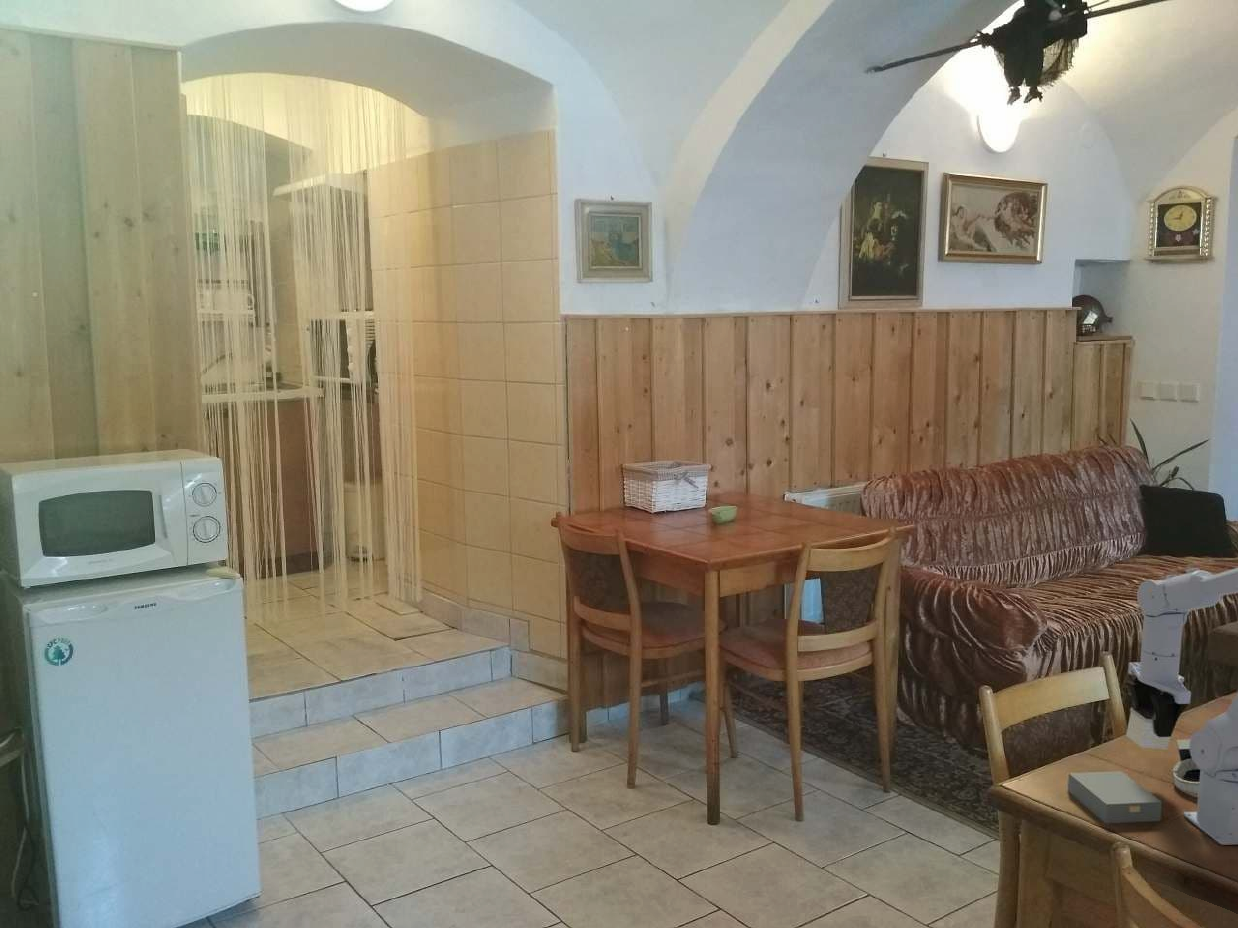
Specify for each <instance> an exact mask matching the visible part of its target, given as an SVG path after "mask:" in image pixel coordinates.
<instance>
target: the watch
mask: <svg viewBox="0 0 1238 928" xmlns="http://www.w3.org/2000/svg"><path fill="white" fill-rule="evenodd" d="M1190 739H1191V738H1187V739H1176V743H1177V747H1178V750H1177V751H1178V754H1179V759H1180V761H1178V762H1177V763H1176V764H1175V765H1174V767H1173V769H1172V772H1171V773H1172V775H1171V776H1172V779H1173V783H1174V785H1175V787H1176V788H1177V789H1178V790H1180V791H1181V792H1183V793H1186V794H1187V795H1193V796H1198V793H1199V781H1188V780H1184V779H1182V778H1183V777H1187V778H1193V779H1200V769H1198V768H1197V766H1196V764H1195V763H1194V761H1193V759H1192V757H1191V754H1190V748H1189V746H1190Z"/></svg>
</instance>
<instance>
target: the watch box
mask: <svg viewBox="0 0 1238 928" xmlns="http://www.w3.org/2000/svg"><path fill="white" fill-rule="evenodd" d="M1067 779H1068V782H1067V792H1068V793H1069V794H1070V795H1071V796H1073V797H1074V798H1075V799H1076V800H1077V801H1079V802H1080V804H1082V805H1083V806H1084V807H1085V808H1087V810H1089V811H1090V812H1091V813H1092V814H1094V815H1095V816H1096V817H1097V818H1098V819H1099V820H1101V821H1102V822H1103V823H1104V824H1118V823H1119V824H1122V823H1124V824H1125V823H1142V822H1145V823H1146V822H1160V821H1161V816H1162V806H1163V805H1162V804H1163V801H1161V800H1160V799H1159V798H1157V797H1156V796H1155V795H1153V794H1152V793H1151V792H1150V791H1148V790H1147V789H1145V788H1144V787H1143V786H1141V784H1138V783H1137V782H1136V781H1135V780H1133V779H1132V778H1131V777H1129V776H1128V775H1126V774H1125V773H1124V772H1123V771H1121V770H1119V771H1118V770H1117V771H1116V770H1115V771H1093V772H1092V771H1091V772H1090V771H1089V772H1072V773H1071V772H1070V773H1068V778H1067Z"/></svg>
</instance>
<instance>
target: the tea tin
mask: <svg viewBox="0 0 1238 928" xmlns="http://www.w3.org/2000/svg"><path fill="white" fill-rule="evenodd" d="M1129 709H1130V710H1129V711H1130V713H1129V720H1128V725H1127V729H1126V733H1125V734H1126V737H1127V738H1128V739H1130V740H1131V741H1132V742H1134V743H1135V744H1136V745H1137V746H1138V747H1140V748H1141V749H1142V748H1143V749H1153V750H1154V749H1156V750H1169V746H1170V741H1171V737H1158V736H1157V734H1156V721H1155V710H1154V709H1143V708H1136V707H1130V708H1129Z"/></svg>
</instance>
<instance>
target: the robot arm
mask: <svg viewBox="0 0 1238 928" xmlns="http://www.w3.org/2000/svg"><path fill="white" fill-rule="evenodd" d="M1185 572H1186V573H1184V574H1180V575H1178V574H1176V573H1175V574H1167V576H1166V579H1165V578H1164V579H1159V580H1158V579H1157V580H1154V579H1146V580H1145V581H1143V582H1142V583H1140V585H1139V586H1138V588H1137V592H1136V593H1137V594H1136V599H1137V600H1136V601H1137V604H1138V606H1139V608H1140V610H1141V611H1142V612H1143V623H1142V636H1141V650H1140V651H1141V653H1140V662H1139V661H1138V662H1128V668H1127V673H1128V674H1129V675H1130V676H1135V678H1134V679H1133V680H1132V679H1129V680H1127V681H1126V685H1127V687H1128V690H1129V691H1130V693H1131V696H1132V699H1133V703H1134V706H1135V707H1134V708H1143V709H1154V710H1155V721H1156V734H1157V736H1158V737H1170V738H1171V736H1172V735H1173V732H1174V730H1175V727H1176V724H1177V722H1178V719H1179V718H1180V716H1181V714H1182V713H1183V712H1184V710H1185V709H1186V707H1188V706H1189V705H1190V704H1191V698H1192V697H1191V696H1192V691H1190V690H1188V689H1187V688H1186V687H1185V686H1184V685H1185V684H1183V683H1184V682H1185V678H1184V676H1181V675H1179V673H1180V661H1181V649H1182V638H1183V626H1185V625H1186V623H1187V621H1188V615H1189V613H1190V612H1192V611H1194V610H1195V611H1196V610H1200V609H1206V608H1211V607H1214V606H1216V605H1217V604H1218V603H1219V602H1220V600H1221V598H1222V596H1228V595H1234V594H1238V567H1235V568H1231V569H1229V570H1225V571H1223V572H1222V571H1221V572H1219V573H1215V574H1213V573H1211V572H1209V571H1207V570H1204V569H1203V570H1202V569H1200V567H1193V568H1187V569H1185ZM1189 739H1190V746H1189V748H1190V754H1191V757H1192V759H1193V761H1194V763H1195V764H1196V766H1197V768H1198V769H1200V778H1199V781H1198V782H1199V793H1198V795H1197V804H1196V805H1197V807H1196V811H1184V812H1183V816H1184V817H1185V818H1186V819H1187V820H1189V821H1190V822H1191V823H1192V824H1194V825H1195V826H1196V827H1198V829H1200V830H1202V831H1203V832H1204V833H1205V834H1206V835H1208V836H1209V837H1211V839H1213V840H1214V841H1215V842H1217V843H1218V844H1219V845H1222V846H1226V845H1227V846H1228V845H1229V846H1230V845H1238V692H1237V694H1236V695H1235V697H1233V700H1232V701H1231V703H1230V705H1229V706H1228V708H1227V710H1226V711H1225V712H1222V713H1221V714H1219V715H1218V716H1215V717H1213V718H1212V719H1210V720H1208V721H1207V722H1205V724H1204V726H1203V727H1202V728H1201V729H1198V730H1197V731H1194V732H1193V733H1192V735H1191V737H1190V738H1189Z"/></svg>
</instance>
